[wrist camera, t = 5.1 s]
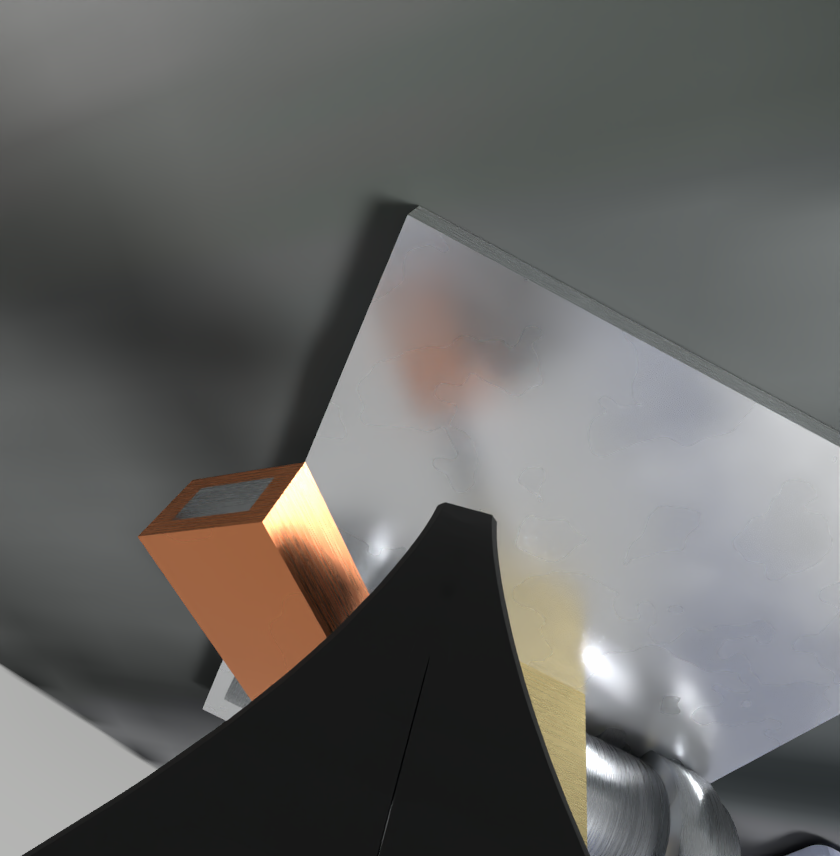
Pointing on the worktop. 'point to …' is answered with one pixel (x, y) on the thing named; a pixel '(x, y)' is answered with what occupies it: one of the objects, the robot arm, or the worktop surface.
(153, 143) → the worktop surface
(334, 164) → the worktop surface
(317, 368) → the worktop surface
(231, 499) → the lever
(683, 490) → the valve rig
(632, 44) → the worktop surface
